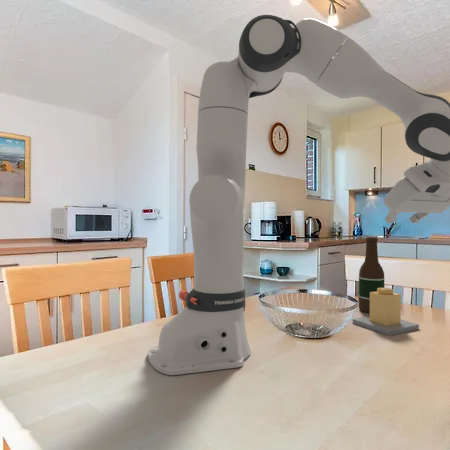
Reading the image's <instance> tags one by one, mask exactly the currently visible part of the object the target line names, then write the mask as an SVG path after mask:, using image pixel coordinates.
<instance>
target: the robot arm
mask: <svg viewBox="0 0 450 450" xmlns="http://www.w3.org/2000/svg"><path fill="white" fill-rule="evenodd" d="M285 73H295V74H298V75H301V76H304V77H305V78H306V79H307V80H309V81H310V82H312V83H313V84H314V85H316V86H317V87H318V88H320V89H321V90H323V91H324V92H326V93H328V94H330V95H333V96H335V97H337V98H339V99H350V98H355V97H356V98H357V97H359V98H360V97H362V98H368V99H370V100H372V101H374V102H376V103H377V104H379V105H380V106H382V107H383V108H385V109H386V110H388V111H390V112H391V113H393V114H395V115H396V116H398V118H399V119H400V120H401V121H402V123H403V125H404V140H405V143H406V145H407V147H408V149H410V151H412V152H413V153H415V154H417V155H419V156H423V157H425V158H429V161H427V162H426V161H425V162H424V163H421V164H418V165H415V166H414V165H413V166H410V167H408V168H407V169H406V170H405V171H404V172H403V176H404V177H403V178H400V179H399V180H398V181H397V182H396V183H395V184H394V186H392V188H391V189H390V191H388V193H387V194H386V196H385V197H384V199H383V200H384V201H383V204H384V205H385V206H386V207H387V208H388V209H389V210H388V213H387V215H386V216H385V217H384V220H385V222H386V224H394V223H395V222H396V221H397V215H400V214H401V213H413V214H412V215H411V216H410V217H409V221H410V222H411V223H412V224H418V223H419V222H420V221H421V220H422V219H424V218H426V217H428V216H430V214H431V213H432V214H437V213H438V214H440V213H443V212H444V211H446V210H447V209H448V208H449V207H450V102H449V101H448V100H447V99H445V98H444V97H443V96H442V97H441V96H440V95H439V96H438V95H435V94H430V93H424V92H423V93H422V92H420V91H417V90H416V89H414V88H412V87H410V86H409V85H407V83H404V82H403V81H401V80H400V79H398V78H396V77H395V76H393V75H392V74H390V73H389V72H387V70H385V69H384V68H383V66H381V65H380V64H379V63H378V62H377V61H376V60H375V59H374V58H373V57H372V56H371V55H370V53H369V52H368V51H366V50H365V49H364V48H363V47H362V46H361V45H360V44H359V43H357V42H356V41H355V40H353V38H351V37H349V36H348V35H347V34H345V33H343V32H342V31H340V30H338V29H336V28H334V27H332V26H331V25H329V24H327V23H325V22H323V21H320V20H318V19H315V18H313V17H306V18H302V19H301V20H300V21H298V22H297V23H294V22H293V21H292V20H290V19H284V18H282V17H279V16H276V15H271V14H262V15H257V16H254V17H253V18H252V19H250V21H248V22H247V24H246V25H245V26H244V28H243V31H242V32H241V36H240V38H239V42H238V55H237V57H235V58H234V59H233V60H231V61H230V60H229V61H217V62H214V63H212V64H211V65H209V66H208V67H207V68H206V69H205V71H204V73H203V78H202V82H201V87H200V93H199V99H198V109H197V128H196V129H197V130H196V131H197V132H196V133H197V134H196V156H197V157H196V158H197V176H198V181H196V182H195V184H194V185H193V186H192V188H191V191H190V194H189V199H188V200H189V214H190V215H189V216H190V229H191V238H192V247H193V249H192V250H193V288H192V289H191V290H190V291H189V292H188V291H186V290H184V289H183V290H180V291H179V292H178V298H179V299H180V300H182V301H185V307H184V308H183V309H182V310H181V311H179V312H178V313H177V314H176V315H175V316H173V317H172V318H171V319H170V320H169V321H167V322H166V323H165V324H164V325H162V328H161V331H160V333H159V339H158V344H157V345H156V346H152V347H150V348H149V350H148V354H147V360H148V362H149V364H150V365H151V366H152V368H154V370H157V371H158V372H159V373H162V374H164V375H166V376H167V375H168V376H179V375H187V374H193V373H194V374H195V373H202V372H204V373H205V372H210V371H218V370H226V369H235V368H240V367H243V366H244V362H245V360H246V359H247V358H249V356H250V355H251V349H250V344H249V341H248V337H247V336H248V335H247V330H246V322H245V310H246V289H245V288H244V208H245V194H246V193H245V192H246V170H247V169H246V165H247V142H248V140H247V139H248V119H249V99H251V98H255V97H260V96H262V97H263V96H266V95H269V94H270V93H272V92H273V91H275V90H276V89H277V88H278V87H279V86H280V84H281V83H282V80H283V77H284V75H285Z"/></svg>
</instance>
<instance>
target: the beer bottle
mask: <svg viewBox="0 0 450 450" xmlns="http://www.w3.org/2000/svg"><path fill="white" fill-rule="evenodd" d="M378 241H379V239H378V237H374V236H369V237H366V238H365V242H366V243H365V244H366V245H365V257H364V262H363V263H362V264H361V266H360V268H359V272H358V309H359V311H360V312H362V313H366V314H370V292H376V291H377V288H385V271H384V269H383V267H382V265H381V264H380V261H379V253H378V251H379V250H378Z"/></svg>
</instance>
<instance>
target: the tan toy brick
mask: <svg viewBox="0 0 450 450" xmlns="http://www.w3.org/2000/svg"><path fill="white" fill-rule="evenodd" d="M401 295H402V294H401V293H396V292H394V289H393V288H389V287H384V288H377V291H376V292H370V313H369V316H370V321H373V322H376V323H379V324H382V325H385V326H389V325H394V324H398V323H400V319H401V316H402V315H401V313H402V312H401V311H402V310H401V308H402V307H401V305H402V304H401V298H402V296H401Z"/></svg>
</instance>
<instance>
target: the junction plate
mask: <svg viewBox="0 0 450 450" xmlns="http://www.w3.org/2000/svg"><path fill="white" fill-rule="evenodd" d="M352 324H355V325H357V326H360V327H363V328H366V329H368V330H372V331H375V332H377V333H380V334H384V335H386V336H393V335H398V334H402V333H407V332H412V331H417V330H420V324H418V323H414V322H411V321H408V320H404V319H401V318H400V323H398V324H394V325H389V326H385V325H382V324H379V323H376V322H373V321H370V315H367V316H363V317H362V316H361V317H358V318H352Z"/></svg>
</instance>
